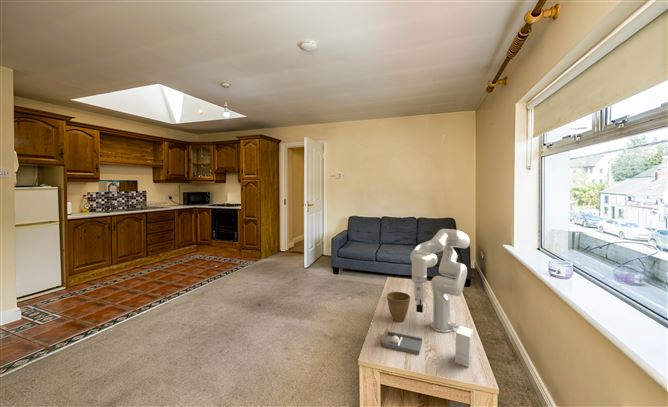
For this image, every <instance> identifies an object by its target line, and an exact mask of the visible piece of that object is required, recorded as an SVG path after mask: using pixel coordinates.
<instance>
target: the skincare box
mask: <svg viewBox="0 0 668 407" xmlns="http://www.w3.org/2000/svg"><path fill="white" fill-rule="evenodd" d="M473 347H474V329H473V328H469V327H466V326H462V325H459V326H458V328H457V330H456V331H455V351H454V352H455V356H454V358H455V364H459V365H460V366H464V367H466V368H470V366H471V364H472V362H473V358H474V357H473V351H474V350H473Z"/></svg>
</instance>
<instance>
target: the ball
mask: <svg viewBox="0 0 668 407" xmlns="http://www.w3.org/2000/svg"><path fill="white" fill-rule="evenodd" d="M392 342H393V343H395V344H397V343H398V342H399V338H398V336H393V337H392Z"/></svg>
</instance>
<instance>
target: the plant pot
mask: <svg viewBox="0 0 668 407" xmlns="http://www.w3.org/2000/svg"><path fill="white" fill-rule="evenodd" d="M386 300H387V306H388V310H389V312H390V316H391V318H392V321H394V322H395V323H403V322H404V321H405V319H406V317H407V314H408V310H409V306H410V303H411V296H410V294H408V293H406V292H402V291H391V292H388V293H387V294H386Z"/></svg>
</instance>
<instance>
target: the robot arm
mask: <svg viewBox="0 0 668 407" xmlns="http://www.w3.org/2000/svg"><path fill="white" fill-rule="evenodd" d="M470 243H471V239H470V237H469V235H468V234H466V233H464V231H461V230H459V229H454V228H453V229H450V228H441V229H439V230H438V231H437V232H436V234H435V235H434V236H433V237H432V238H431V239H430V240H427V241H424V242H422V243H419V244H417V245H416V246H415V248H414V249H412V252H411V253H410V261H411V281H412V282H413V283H414V284H413V285H414V286H413V290H414V291H413V293H414V301H415V302H416V304H415V306H416V307H415V309H416V310H415V311H416V313H420V314H422V313H423V312H424V304H423V303H425V300H426V297H427V296H426V295H427V294H426V283H427V281H428V277H427V276H428V273H427V270H428V268H432V267H435V266H436V265H437V263H438V260H439V258H438V256H437V253H440V252H443V253H442V256H441V259H440V264H439V267H438V273H439V274H440V275H435V276H433V277H432V279H431V288H432V290H431V291H432V296H433V297H432V301H433V302H432V303H433V305H432V306H433V307H432V314H433V315H432V317H433V318H432V321H430V328H431V329H432V330H434V331H436V332H438V333H443V334H444V333H450V332H452V331H453V330H454V329H458V328H459V325H458V324H457V323H456V322H452V320H451V299H450V296H452V297H460V296H461V295H462V294H463V291H464V287H465V283H466V279H467V275H468V268H467V266H466V265H465V264H464V263H462V262H458V261H457V260H458V254H457V252H456V250H455V249H454V248H461V249H467V248H469V246H470Z"/></svg>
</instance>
